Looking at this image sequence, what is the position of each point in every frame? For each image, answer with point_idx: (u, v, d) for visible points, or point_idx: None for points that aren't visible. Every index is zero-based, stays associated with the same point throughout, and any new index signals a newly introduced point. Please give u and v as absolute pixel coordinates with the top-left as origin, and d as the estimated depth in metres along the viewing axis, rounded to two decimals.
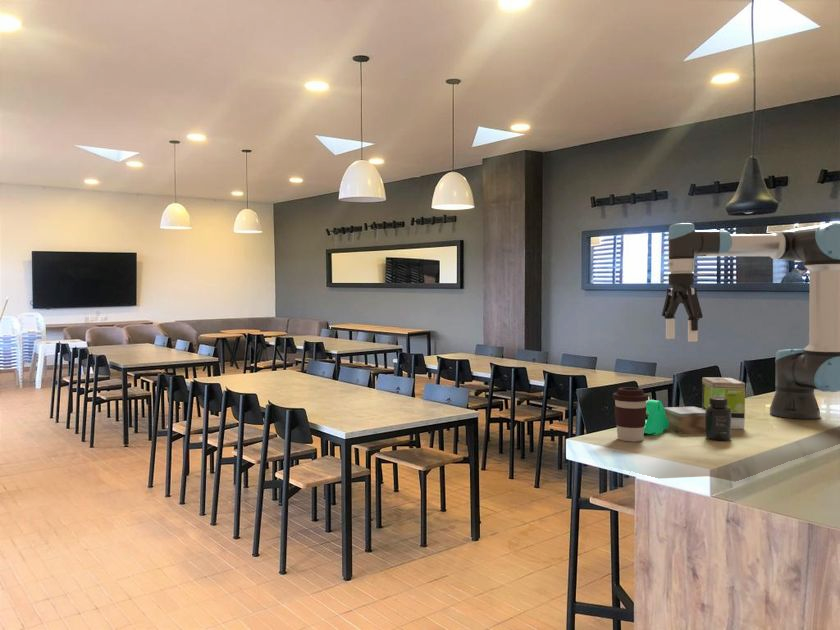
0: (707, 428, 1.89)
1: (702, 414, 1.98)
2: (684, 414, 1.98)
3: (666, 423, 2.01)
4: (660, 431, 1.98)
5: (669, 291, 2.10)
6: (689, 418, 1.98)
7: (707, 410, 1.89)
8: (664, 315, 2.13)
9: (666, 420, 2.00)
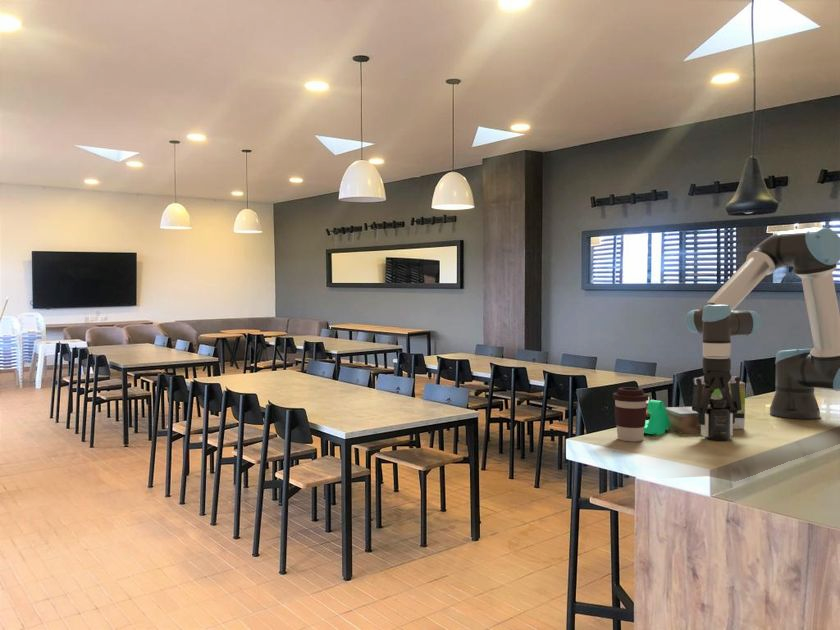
0: None
1: None
2: (684, 414, 1.98)
3: (668, 423, 2.00)
4: (662, 431, 1.98)
5: None
6: (689, 418, 1.98)
7: None
8: None
9: (668, 420, 2.00)
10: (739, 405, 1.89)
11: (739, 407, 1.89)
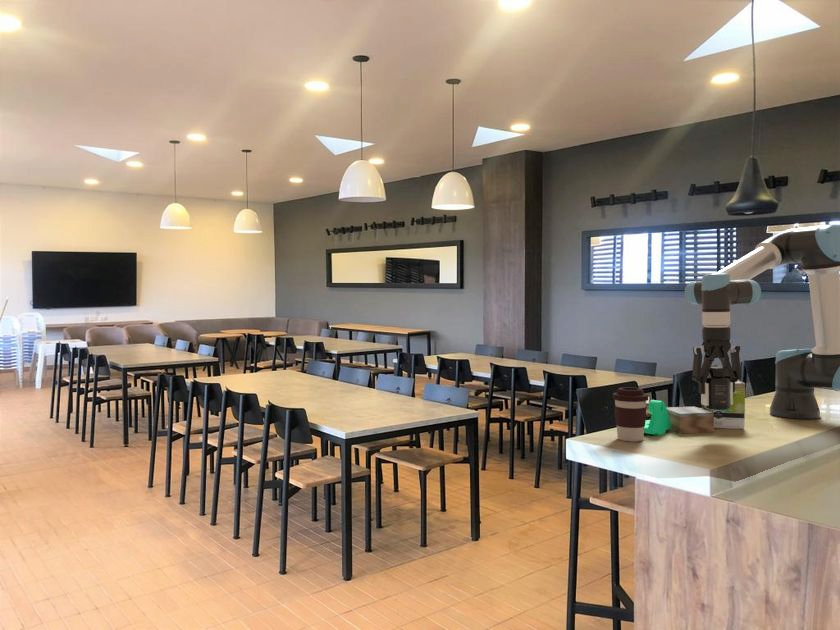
0: None
1: (702, 414, 1.98)
2: (684, 414, 1.98)
3: (668, 423, 2.00)
4: (663, 431, 1.97)
5: None
6: (689, 418, 1.98)
7: None
8: None
9: (668, 420, 2.00)
10: (739, 374, 1.89)
11: (739, 376, 1.89)
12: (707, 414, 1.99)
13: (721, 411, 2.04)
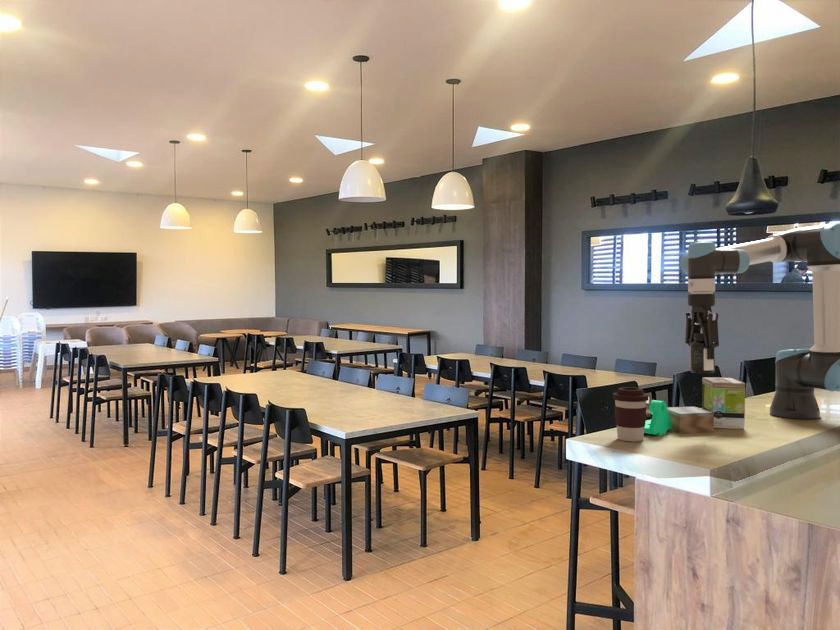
0: None
1: (702, 414, 1.98)
2: (684, 414, 1.98)
3: (669, 424, 2.00)
4: (664, 431, 1.97)
5: (688, 314, 2.01)
6: (689, 418, 1.98)
7: None
8: (688, 342, 2.02)
9: (669, 420, 2.00)
10: None
11: None
12: (707, 414, 1.99)
13: (721, 411, 2.04)
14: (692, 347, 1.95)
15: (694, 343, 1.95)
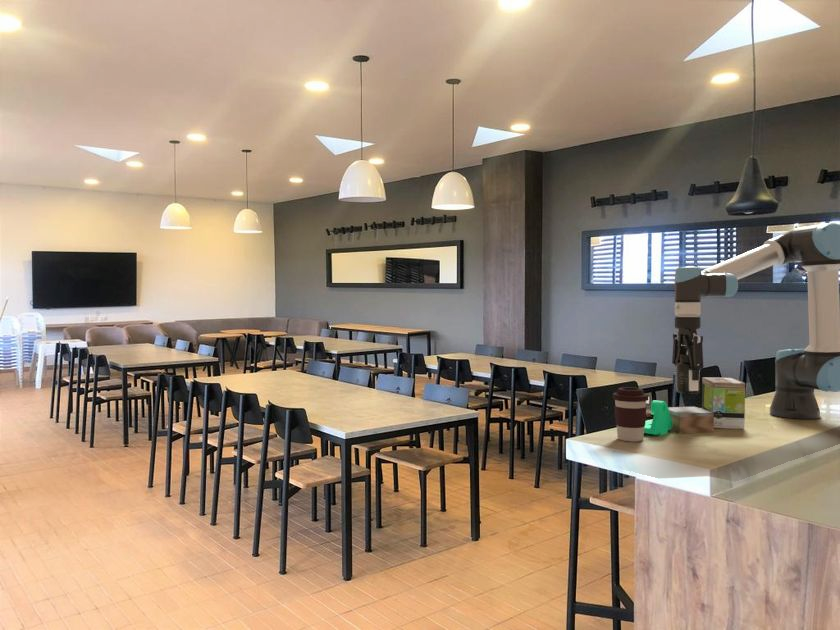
0: None
1: (702, 414, 1.98)
2: (684, 414, 1.98)
3: (670, 424, 2.00)
4: (665, 432, 1.97)
5: (675, 336, 2.08)
6: (689, 418, 1.98)
7: None
8: (675, 362, 2.09)
9: (670, 420, 2.00)
10: None
11: None
12: (707, 414, 1.99)
13: (721, 411, 2.04)
14: (678, 368, 2.02)
15: (680, 364, 2.02)
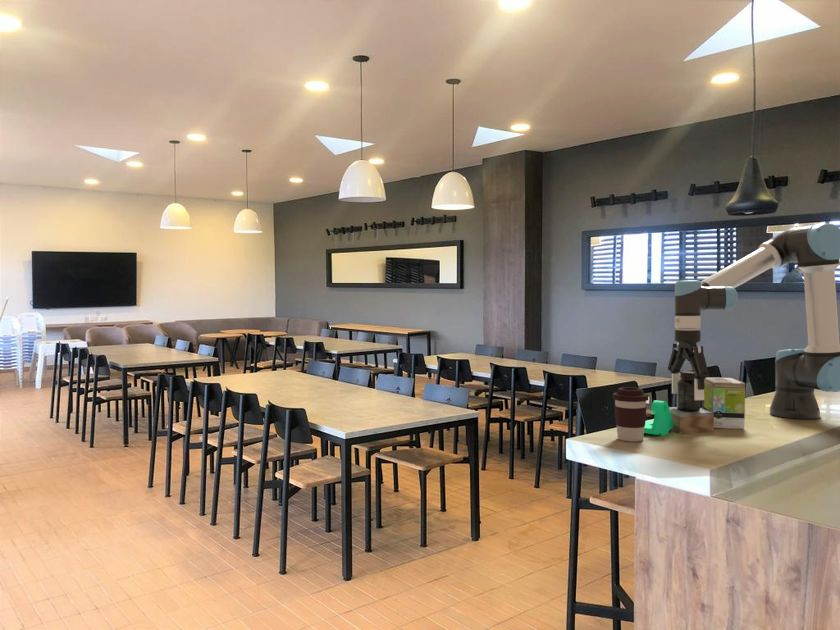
0: (694, 401, 2.00)
1: (702, 414, 1.98)
2: (684, 414, 1.98)
3: (671, 424, 2.00)
4: (666, 432, 1.97)
5: (675, 346, 2.09)
6: (689, 418, 1.98)
7: (693, 384, 2.00)
8: (670, 369, 2.12)
9: (671, 421, 1.99)
10: None
11: None
12: (707, 414, 1.99)
13: (721, 411, 2.04)
14: (678, 386, 2.03)
15: (680, 382, 2.02)
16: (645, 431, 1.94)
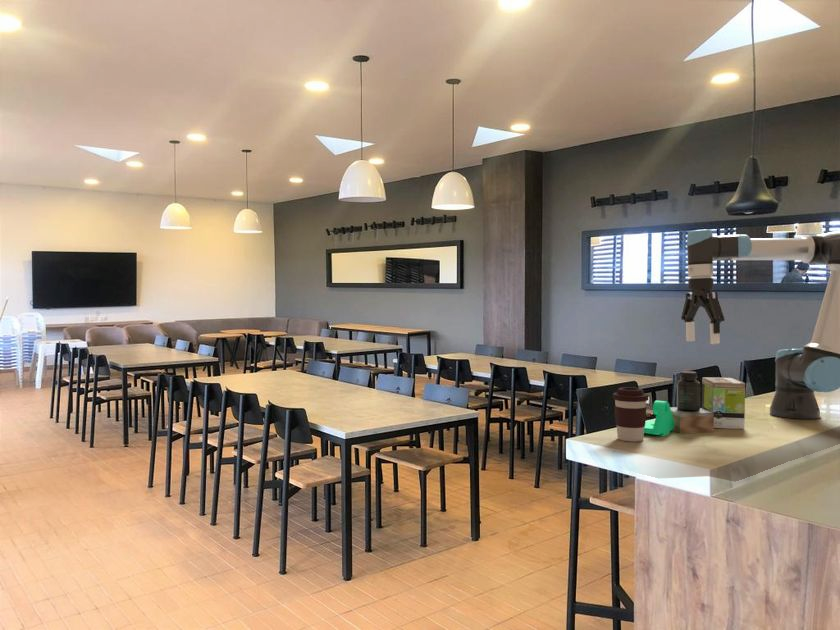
0: (694, 401, 2.00)
1: (702, 414, 1.98)
2: (684, 414, 1.98)
3: (672, 424, 1.99)
4: (667, 432, 1.97)
5: (688, 295, 2.16)
6: (689, 418, 1.98)
7: (693, 384, 2.00)
8: (683, 318, 2.20)
9: (672, 421, 1.99)
10: None
11: None
12: (707, 414, 1.99)
13: (721, 411, 2.04)
14: (678, 386, 2.03)
15: (680, 382, 2.02)
16: (646, 431, 1.94)
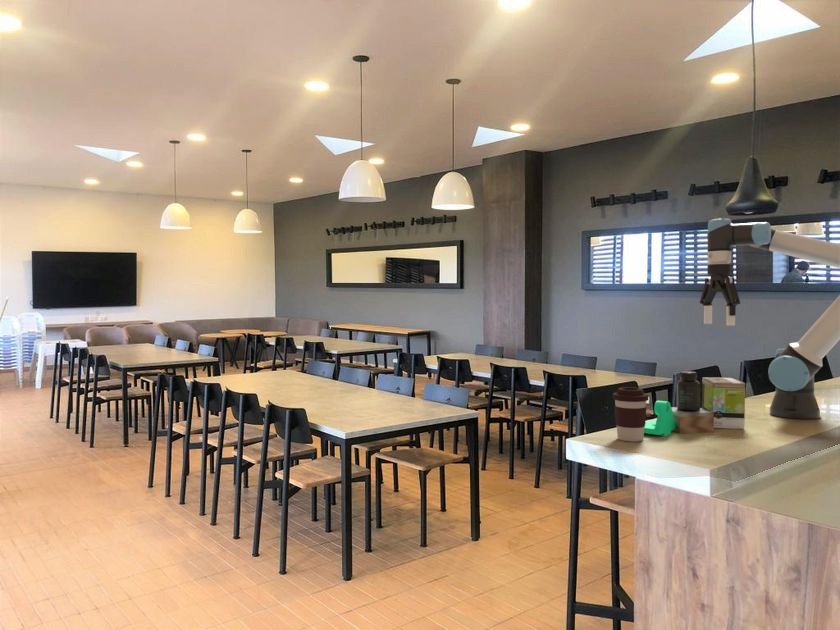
0: (694, 401, 2.00)
1: (702, 414, 1.98)
2: (684, 414, 1.98)
3: (673, 424, 1.99)
4: (668, 432, 1.96)
5: (707, 280, 2.31)
6: (689, 418, 1.98)
7: (693, 384, 2.00)
8: (702, 302, 2.34)
9: (673, 421, 1.99)
10: None
11: None
12: (707, 414, 1.99)
13: (721, 411, 2.04)
14: (678, 386, 2.03)
15: (680, 382, 2.02)
16: (648, 431, 1.94)
